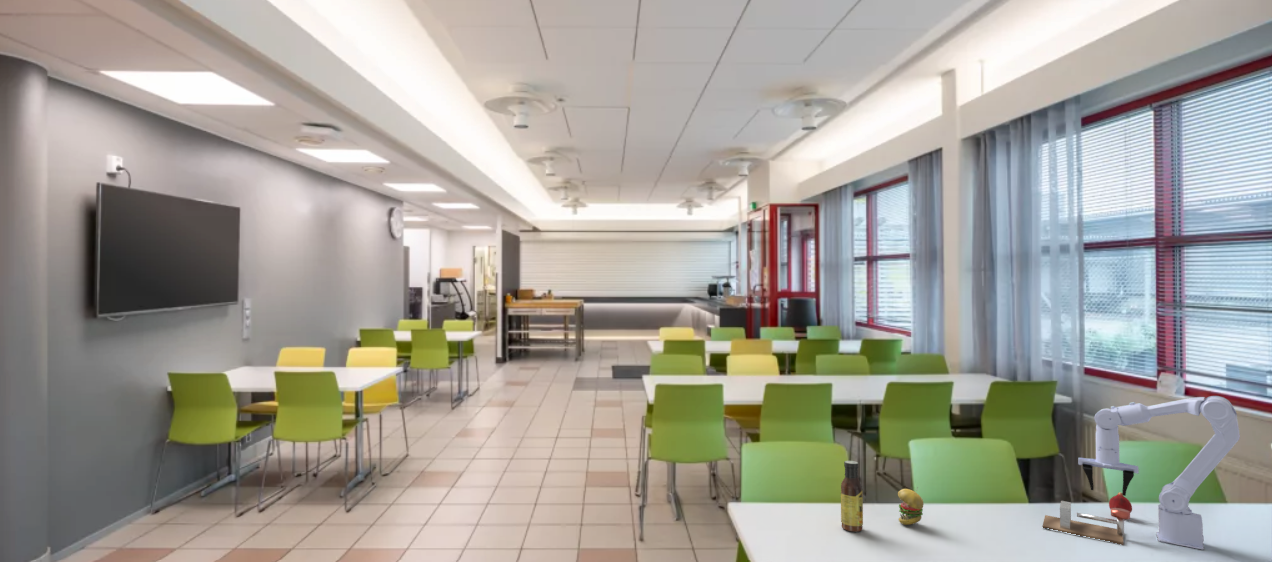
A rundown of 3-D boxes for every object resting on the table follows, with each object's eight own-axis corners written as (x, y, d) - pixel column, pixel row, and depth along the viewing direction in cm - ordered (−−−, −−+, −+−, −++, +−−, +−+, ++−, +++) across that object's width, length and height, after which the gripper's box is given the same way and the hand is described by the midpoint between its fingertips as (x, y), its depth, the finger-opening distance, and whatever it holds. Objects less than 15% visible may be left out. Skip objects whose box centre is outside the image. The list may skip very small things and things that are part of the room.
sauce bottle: (864, 533, 172) (864, 465, 173) (842, 531, 174) (842, 464, 174) (860, 525, 179) (860, 460, 180) (839, 523, 180) (839, 458, 181)
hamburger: (900, 518, 185) (900, 480, 186) (925, 523, 181) (925, 484, 182) (895, 526, 179) (895, 486, 179) (921, 531, 175) (921, 491, 175)
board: (1122, 532, 176) (1122, 529, 176) (1123, 545, 166) (1123, 542, 166) (1045, 517, 187) (1045, 515, 187) (1042, 528, 178) (1042, 526, 178)
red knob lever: (1130, 534, 172) (1129, 510, 172) (1130, 538, 168) (1130, 514, 168) (1077, 523, 179) (1076, 500, 180) (1076, 528, 176) (1076, 504, 176)
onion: (1132, 522, 184) (1132, 496, 184) (1109, 518, 188) (1109, 493, 188) (1131, 517, 189) (1131, 492, 189) (1108, 513, 192) (1108, 488, 193)
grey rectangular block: (1070, 521, 182) (1070, 502, 182) (1070, 529, 175) (1069, 509, 176) (1061, 520, 183) (1061, 500, 183) (1060, 527, 177) (1059, 507, 177)
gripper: (1077, 446, 183) (1078, 490, 183) (1138, 454, 174) (1139, 500, 173) (1078, 442, 188) (1078, 484, 188) (1137, 450, 179) (1138, 494, 179)
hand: (1107, 492), depth 181 cm, fingers open, 7 cm apart
